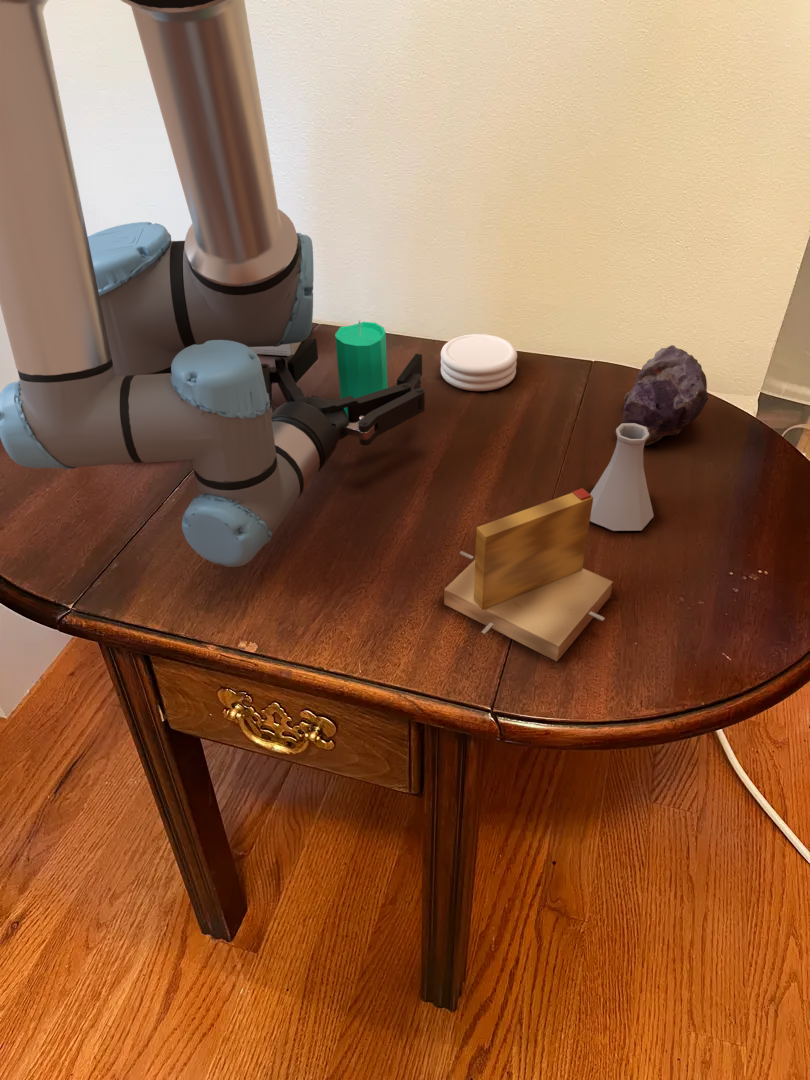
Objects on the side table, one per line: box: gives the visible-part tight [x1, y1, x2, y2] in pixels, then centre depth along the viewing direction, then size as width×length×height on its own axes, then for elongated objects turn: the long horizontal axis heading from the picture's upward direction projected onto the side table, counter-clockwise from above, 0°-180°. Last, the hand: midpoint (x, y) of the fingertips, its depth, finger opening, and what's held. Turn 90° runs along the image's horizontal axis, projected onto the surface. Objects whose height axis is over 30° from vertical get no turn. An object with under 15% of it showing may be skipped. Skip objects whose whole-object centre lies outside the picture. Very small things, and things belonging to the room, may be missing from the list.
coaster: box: [440, 333, 518, 392], centre depth 110 cm, size 10×10×4 cm
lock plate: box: [443, 550, 614, 662], centre depth 77 cm, size 15×15×2 cm
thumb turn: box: [474, 487, 593, 610], centre depth 74 cm, size 11×2×9 cm, turn 118°
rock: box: [621, 344, 709, 446], centre depth 98 cm, size 12×9×10 cm
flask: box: [589, 423, 655, 532], centre depth 85 cm, size 7×7×10 cm
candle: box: [334, 319, 389, 417], centre depth 101 cm, size 6×6×12 cm
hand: (365, 356), depth 101 cm, fingers open, 13 cm apart
